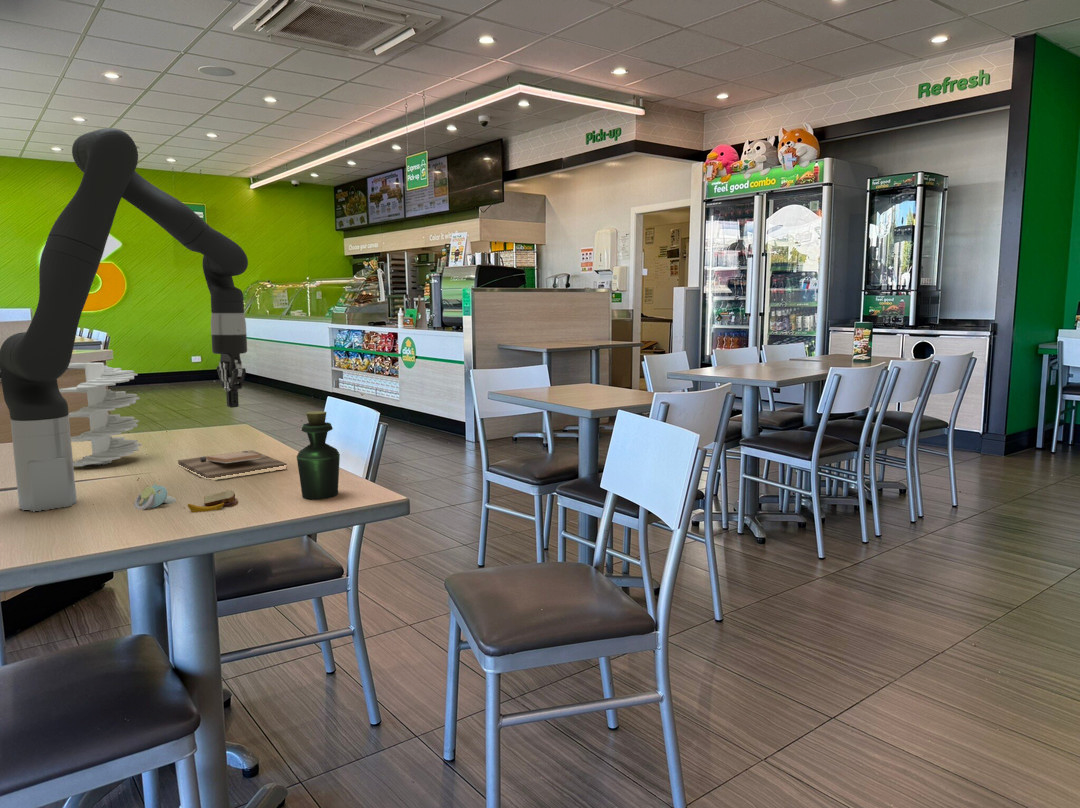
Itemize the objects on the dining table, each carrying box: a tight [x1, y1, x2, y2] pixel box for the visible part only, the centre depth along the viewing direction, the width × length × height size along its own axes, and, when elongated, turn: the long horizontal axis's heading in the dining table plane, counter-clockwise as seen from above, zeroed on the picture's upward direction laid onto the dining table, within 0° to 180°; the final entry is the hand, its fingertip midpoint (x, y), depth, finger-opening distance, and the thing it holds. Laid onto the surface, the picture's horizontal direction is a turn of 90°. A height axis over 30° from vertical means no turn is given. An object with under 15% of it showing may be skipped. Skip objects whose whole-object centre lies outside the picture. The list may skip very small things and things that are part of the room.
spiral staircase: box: [58, 362, 142, 467], centre depth 182 cm, size 18×18×25 cm
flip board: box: [177, 450, 288, 478], centre depth 177 cm, size 22×18×3 cm
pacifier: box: [133, 483, 177, 511], centre depth 141 cm, size 7×6×6 cm
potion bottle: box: [296, 410, 341, 501], centre depth 145 cm, size 8×8×18 cm
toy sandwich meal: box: [182, 489, 239, 513], centre depth 139 cm, size 9×10×4 cm
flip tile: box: [207, 451, 261, 463], centre depth 176 cm, size 13×8×1 cm, turn 42°
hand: (232, 406), depth 173 cm, fingers closed
